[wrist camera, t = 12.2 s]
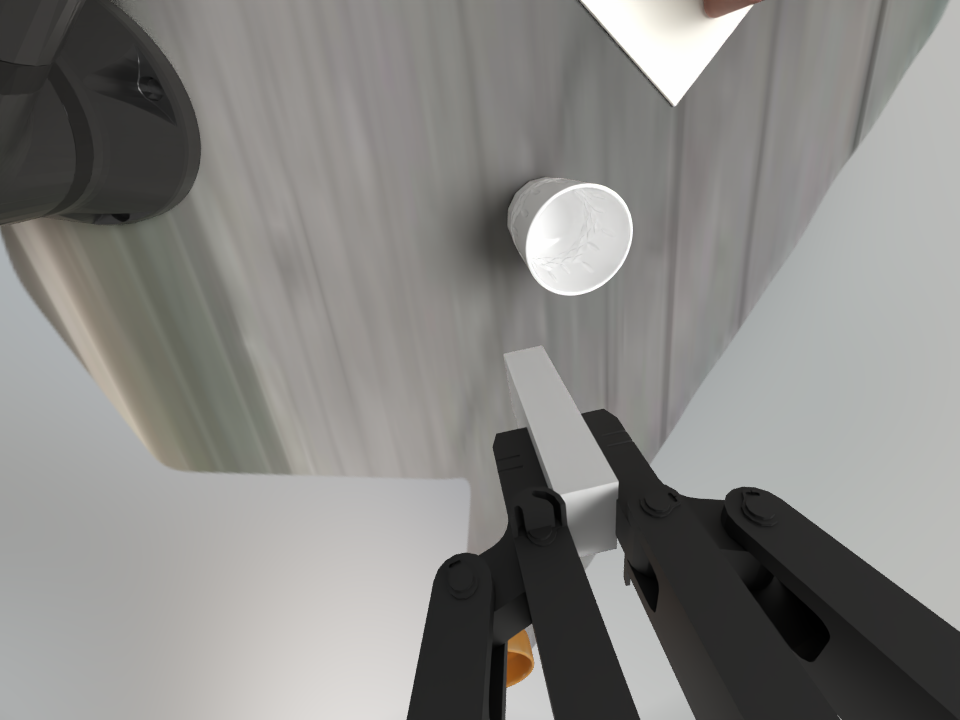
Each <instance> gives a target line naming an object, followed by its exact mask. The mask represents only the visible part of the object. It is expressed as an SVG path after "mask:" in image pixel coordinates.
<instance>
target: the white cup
mask: <svg viewBox="0 0 960 720" xmlns="http://www.w3.org/2000/svg"><path fill="white" fill-rule="evenodd" d="M507 227H508V229H509V231H510V234H511V236H512V239H513V242H514V244H515V246H516V248H517V250H518V252H519V254H520V255H521V257H522V259H523V260H524V262H525V264H526V265H527V267H528V268H529V270H530V272H531V273H532V275H533V277H534V278H535V279H536V281H537V282H538V283H539V284H540V285H541V286H543V287H544V288H546V289H547V290H549V291H551V292H553V293H556V294H560V295H580V294H584V293H587V292H590V291H592V290H595V289H597V288H598V287H600V286H602V285H603V284H604V283H606V282H607V281H608V280H609V279H611V278H612V277H613V276H614V274H615V273H616V272H617V271H618V270H619V268H620V267H621V265H622V264H623V262H624V260H625V259H626V257H627V254H628V252H629V249H630V245H631V241H632V233H633V227H632V219H631V215H630V212H629V210H628V207H627V206H626V204H625V202H624V201H623V200H622V198H621V197H620V196H619V195H618V194H617V193H615V192H614V191H613V190H611V189H609V188H607V187H605V186H602V185H598V184H593V183H587V182H582V181H577V180H572V179H564V178H549V177H543V178H539V179H536V180H532V181H529V182H528V183H527V184H525V185H524V186H523V187H522V188H521V189H520V190H519V191H517V192H516V193H515V195H514V198H513V200H512V202H511V204H510V206H509V208H508V221H507Z"/></svg>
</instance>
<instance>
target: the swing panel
mask: <svg viewBox="0 0 960 720" xmlns="http://www.w3.org/2000/svg"><path fill="white" fill-rule="evenodd" d="M761 1H763V0H704V2H703V4H704V10H705V12H706V14H707V15H708V16H709V17H711V18H718V17H720V16H723V15H726V14H728V13H731V12H734V11H736V10H739V9H742V8H745V7H747V6H750V5H753V4H755V3H758V2H761Z"/></svg>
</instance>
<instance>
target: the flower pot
mask: <svg viewBox="0 0 960 720" xmlns="http://www.w3.org/2000/svg"><path fill="white" fill-rule="evenodd" d="M533 668H534V659H533V654H532V650H531V646H530V641H529V638H528V635H527V633H526V631H525V630H524V629H523V630H522V631H521V632H519V633H518V634H516V635H515V636H514V637H512V638H511V639H509V640H508V653H507V682H506V688H507V687H510V686H512V685H514V684H516V683H518V682H520V681H522V680H523V679H525V678H526V677H527V676H528V675H529V674H530V673H531V672H532V670H533Z"/></svg>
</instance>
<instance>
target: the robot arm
mask: <svg viewBox="0 0 960 720" xmlns="http://www.w3.org/2000/svg"><path fill="white" fill-rule="evenodd" d="M200 155H201V145H200V135H199V128H198V124H197V119H196V116H195V112H194V109H193V107H192V104H191V101H190V99H189V96H188V94H187V92H186V90H185V88H184V86H183V84H182V82H181V80H180V78H179V76H178V75H177V73H176V71H175V70H174V68H173V67H172V65H171V64H170V62H169V61H168V59H167V58H166V56H165V55H164V54H163V52H162V51H161V50H160V48H159V47H158V46H157V45H156V44H155V42H154V41H153V40H152V39H151V38H150V37H149V36H148V34H147V33H146V32H145V31H144V30H143V29H142V28H141V27H140V26H139V25H138V24H137V23H136V22H135V21H134V20H133V19H131V18H130V17H129V16H128V15H127V14H126V13H125V12H123V11H122V10H121V9H120V8H118V7H117V6H116V5H115V4H113V3H112V2H110V1H109V0H0V227H3V226H7V225H11V224H15V223H19V222H24V221H27V220H31V219H36V218H40V217H46V218H53V219H60V220H67V221H74V222H82V223H89V224H98V225H121V224H129V223H134V222H139V221H142V220H145V219H148V218H151V217H154V216H157V215H160V214H162V213H165V212H166V211H168V210H170V209H172V208H173V207H175V206H176V205H177V204H178V203H180V202H181V201H182V200H183V199H184V197H185V196H186V195H187V194H188V192H189V191H190V189H191V187H192V185H193V183H194V181H195V179H196V176H197V173H198V169H199V164H200ZM504 360H505V366H506V372H507V378H508V384H509V390H510V396H511V402H512V408H513V412H514V415H515V418H516V421H517V424H518V427H519V429H516V430H511V431H507V432H502V433H498V434H496V437H495V440H494V444H493V451H494V456H495V460H496V465H497V469H498V474H499V479H500V483H501V487H502V492H503V496H504V501H505V505H506V510H507V514H508V526H507V530H506V532H505V534H504V536H503V537H502V538H501V540H500V541H499V542H498V543H497V544H495V545H494V546H493V547H492V548H490V549H488V550H487V551H485V552H483V553H482V554H480V555H479V556H478V555H476V554H471V553H461V554H456V555H454V556H452V557H451V558H449V559H447V560H446V561H445V562H444V563H443V564H442V566H441V567H440V568H439V569H438V571H437V574H436V576H435V579H434V582H433V587H432V592H431V598H430V602H429V608H428V613H427V618H426V623H425V628H424V633H423V639H422V643H421V649H420V654H419V659H418V664H417V669H416V674H415V679H414V685H413V690H412V695H411V700H410V705H409V710H408V715H407V720H505V711H506V709H505V708H506V682H507V653H508V640H509V639H511V638H512V637H514V636H515V635H516V634H518V633H519V632H521V631H522V630H523V629H525V628H526V627H528V626H529V625H530V624H532V625H533V629H534V633H535V638H536V642H537V646H538V651H539V655H540V659H541V664H542V668H543V673H544V677H545V681H546V686H547V690H548V694H549V699H550V703H551V708H552V712H553V716H554V720H640V718H639V715H638V712H637V710H636V707H635V704H634V702H633V699H632V696H631V694H630V691H629V688H628V686H627V683H626V680H625V677H624V675H623V672H622V670H621V667H620V664H619V661H618V659H617V656H616V653H615V651H614V648H613V645H612V643H611V640H610V637H609V635H608V632H607V629H606V627H605V625H604V621H603V619H602V617H601V613H600V611H599V608H598V605H597V603H596V600H595V597H594V595H593V592H592V589H591V587H590V584H589V581H588V579H587V576H586V573H585V571H584V568H583V565H582V563H581V560H580V557H582V556H586V555H591V554H595V553H599V552H603V551H608V550H612V549H616V548H617V538H618V540H619V543H620V544H621V547H622V549H623V551H624V553H625V559H624V580H625V585H626V586H627V585H630V579H631V581H632V583H633V585H634V587H635V589H636V591H637V593H638V596H639V598H640V600H641V602H642V604H643V606H644V609H645V611H646V613H647V615H648V617H649V619H650V621H651V624H652V626H653V628H654V630H655V632H656V634H657V637H658V639H659V641H660V643H661V645H662V647H663V650H664V652H665V654H666V656H667V658H668V660H669V662H670V665H671V667H672V669H673V671H674V673H675V675H676V678H677V680H678V682H679V684H680V686H681V688H682V690H683V693H684V695H685V697H686V699H687V701H688V704H689V706H690V708H691V710H692V712H693V714H694V716H695V719H696V720H840V718H841V719H842V720H960V632H959V631H958V630H956V629H955V628H954V627H952V626H951V625H950V624H948V623H947V622H946V621H944V620H943V619H942V618H940V617H939V616H938V615H936V614H935V613H934V612H932V611H931V610H930V609H928V608H927V607H926V606H924V605H923V604H922V603H920V602H919V601H918V600H916V599H915V598H913V597H912V596H911V595H909V594H908V593H907V592H905V591H904V590H903V589H901V588H900V587H899V586H897V585H896V584H895V583H893V582H892V581H890V580H889V579H888V578H887V577H885V576H884V575H883V574H881V573H880V572H879V571H877V570H876V569H875V568H873V567H872V566H871V565H869V564H868V563H866V562H865V561H864V560H862V559H861V558H860V557H858V556H857V555H856V554H854V553H853V552H852V551H850V550H849V549H848V548H846V547H845V546H843V545H842V544H841V543H839V542H838V541H837V540H835V539H834V538H833V537H832V536H830V535H829V534H827V533H826V532H825V531H823V530H822V529H821V528H819V527H818V526H817V525H815V524H814V523H813V522H811V521H810V520H809V519H807V518H806V517H805V516H803V515H802V514H801V513H799V512H798V511H797V510H795V509H794V508H792V507H791V506H790V505H788V504H787V503H786V502H784V501H783V500H782V499H780V498H779V497H777V496H775V495H773V494H772V493H770V492H768V491H765V490H761V489H758V488H754V487H740V488H736V489H733V490H731V491H730V492H729V493H728V494H727V495H726V498H725V500H713V499H698V498H690V497H686V496H683V495H680V494H679V493H678V492H677V491H676V490H674V489H672V488H670V487H669V486H667V485H664V484H663V483H662V482H661V481H660V480H659V479H658V477H657V476H656V474H655V473H654V471H653V470H652V468H651V467H650V465H649V464H648V462H647V461H646V460H645V458H644V457H643V455H642V454H641V452H640V451H639V449H638V448H637V446H636V445H635V443H634V442H632V439H631V437H630V436H629V435H628V433H627V432H626V431H625V429H624V427H623V426H622V424H621V423H620V421H619V420H618V418H617V417H615V416H614V415H612V414H611V413H609V412H608V411H606V410H605V409H600V410H595V411H591V412H587V413H582V414H580V412H579V410H578V408H577V407H576V405H575V403H574V401H573V399H572V398H571V396H570V394H569V392H568V391H567V389H566V387H565V385H564V383H563V382H562V380H561V378H560V376H559V374H558V373H557V371H556V369H555V367H554V366H553V364H552V362H551V360H550V358H549V357H548V355H547V353H546V351H545V350H544V348H543V346H542V345H541V346H537V347H532V348H528V349H523V350H519V351H514V352H510V353H505V354H504ZM838 716H839V717H840V718H839V717H838Z"/></svg>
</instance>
